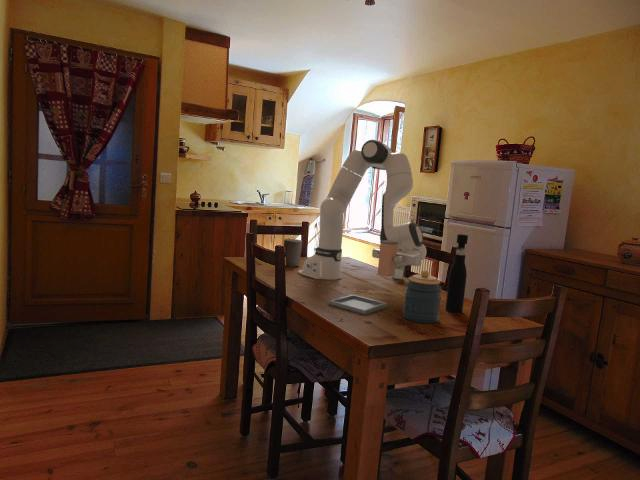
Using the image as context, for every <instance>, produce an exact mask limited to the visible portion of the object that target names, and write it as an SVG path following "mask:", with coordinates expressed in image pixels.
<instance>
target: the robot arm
mask: <svg viewBox="0 0 640 480" xmlns="http://www.w3.org/2000/svg"><path fill="white" fill-rule="evenodd" d="M370 168H371V169H373V170H381V171H386V172H385V173H386V180H387V185H386V188H385V191H384V193H383V194H382V198H381V228H380V234H379V240H380V241H384V240H389V241H395V242H398V246H397V256H396V257H395V256H394V257H392V261H395V262H396V264H397V265H400V266H404V265H405V267H406V266H415V267H420V266H422V261H423V260H424V259H425V258H426V256H427V248H426V245H425V244H424V234H423V230H422V229H421V227H420V226H419V225H418V223H415V222H414V221H410V222H403V223H400V224H396V225H394V209H395V207H396V206H397V204H398V203H399V202H400V201H401V200H402V199H404V198H405V197H407V196H408V195H409V194H410V193H411V191H412V189H413V186H414V180H413V173H412V168H411V164H410V161H409V159H408V156H407V155H406V154H405V153H403V152H395V151H393V149H392V148H390V147H389V146H388V145H387V144H385V143H383V142H381V141H379V140H377V139H369V140H367V141H365V142H364V144H363V145H362V146H361V149H360V148H355V149H353V150H352V151H351V152H350V153H349V155H348V156H347V157H346V159H345V161H344V162H343V164H342V166H341V168H340V170H339V172H338V173H337V176H336V177H335V179H334V181H333V184H332V186H331V188H330V190H329V192H328V194H327V196H326V198H325V199H323V200H322V202H321V204H320V208H319V210H320V211H319V235H318V236H319V238H318V246H317V247H314V248H313V251H315V252H314V254H313V255H311V256H310V257H309V258H307V259H306V260H305V261H303V265H302V269H299V270H297V274H300V275H303V276H306V277H308V278H312V279H315V280H331V281H332V280H341V279H343V275H342V268H341V267H342V265H341V264H342V263H341V262H342V257H343V255H342V254H343V249H342V245H343V243H342V242H343V233H344V232H343V229H344V214H345V212H346V210H347V208H348V207H349V204H350V202H351V201H352V198H353V196H354V194H355V193H356V191H357V188H358V187H359V185H360V183H361V181H362V180H363V178H364V175H365V174H366V172H367V170H368V169H370ZM380 241H379V242H380ZM371 251H372V252H371V253H372V255H371V257H372V258H375V259H379V254H380V247H379V248H378V247H377V248H372V250H371Z"/></svg>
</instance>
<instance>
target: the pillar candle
mask: <svg viewBox="0 0 640 480" xmlns="http://www.w3.org/2000/svg"><path fill="white" fill-rule="evenodd" d="M302 245H303V240H300V239H295V238H284V239H283V247H285V251H286V266H285V267H287V266H290V268H296V267H295V266H299V267H301V258H302V257H301V255H302V248H303V247H302Z"/></svg>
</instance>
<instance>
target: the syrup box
mask: <svg viewBox="0 0 640 480" xmlns="http://www.w3.org/2000/svg"><path fill="white" fill-rule="evenodd" d="M405 268H406V265H404V266H400V265H397V264H396V266H395V275H394V276H391V279H394V280H402V281H403V280H404V277H405Z"/></svg>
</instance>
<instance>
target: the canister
mask: <svg viewBox="0 0 640 480" xmlns="http://www.w3.org/2000/svg"><path fill="white" fill-rule="evenodd" d="M407 279H408V280H409V281H408V282H406V283H404V284H405V288H406V289H405V292H404V293H403V294H404V301H403V308H402V317H403V318H404V319H406V320H408V321H411V322H415V323H422V324H433V323H437V322H438V321H439V318H440V307H441V300H442V297H441V291H443V287H442V286H440V284H441V281H440V280H439V279H438V277H435V276H433V275H430V274H429V271H428V270H425V269H424V270H422V271H421V273H420V274H418V273H417V274H413V275H411V276H409V277H408V278H407Z"/></svg>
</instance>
